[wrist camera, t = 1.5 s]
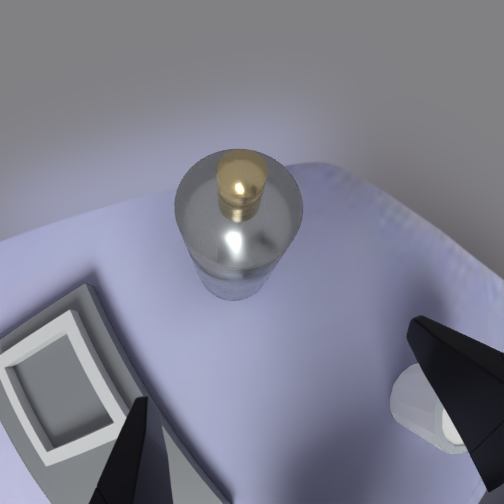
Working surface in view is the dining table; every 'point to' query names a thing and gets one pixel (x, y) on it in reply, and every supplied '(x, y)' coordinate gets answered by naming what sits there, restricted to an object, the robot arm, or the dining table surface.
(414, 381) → the shot glass
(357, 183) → the dining table surface
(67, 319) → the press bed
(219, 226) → the gold-capped silver bottle
